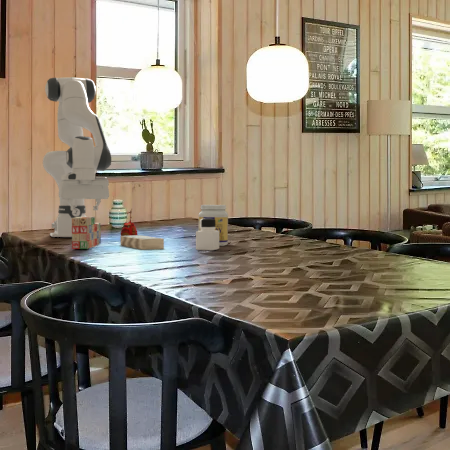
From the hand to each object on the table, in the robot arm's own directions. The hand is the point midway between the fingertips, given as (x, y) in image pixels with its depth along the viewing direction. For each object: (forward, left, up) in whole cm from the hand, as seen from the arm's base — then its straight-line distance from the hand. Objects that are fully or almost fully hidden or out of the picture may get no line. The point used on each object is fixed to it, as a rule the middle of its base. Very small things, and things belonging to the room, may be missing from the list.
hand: (84, 210), depth 264 cm
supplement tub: (+22, +47, -15) cm, 54 cm away
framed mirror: (+13, +19, -15) cm, 28 cm away
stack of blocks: (0, +1, -15) cm, 15 cm away
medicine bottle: (+36, +37, -15) cm, 54 cm away
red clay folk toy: (-10, +23, -15) cm, 29 cm away
